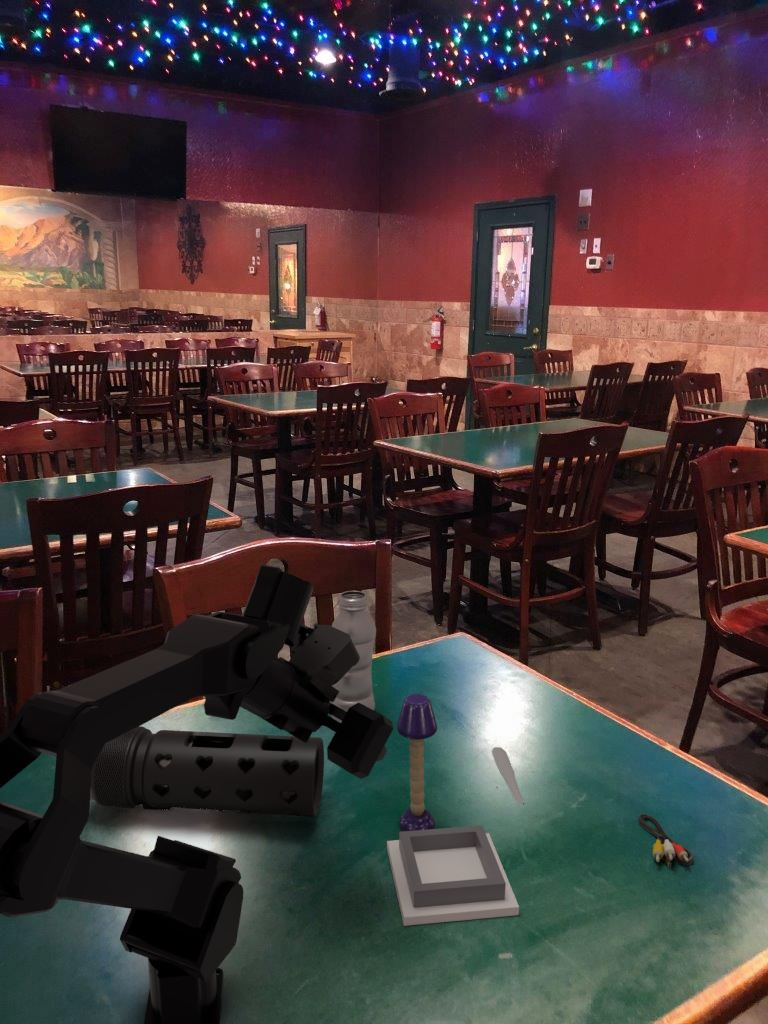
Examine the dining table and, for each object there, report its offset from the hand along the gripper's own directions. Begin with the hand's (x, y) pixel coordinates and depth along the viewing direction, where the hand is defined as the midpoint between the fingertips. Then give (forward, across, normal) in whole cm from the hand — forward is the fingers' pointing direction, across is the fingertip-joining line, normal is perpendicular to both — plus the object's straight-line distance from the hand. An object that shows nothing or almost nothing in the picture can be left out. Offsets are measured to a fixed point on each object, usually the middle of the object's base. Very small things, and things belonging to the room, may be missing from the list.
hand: (353, 737), depth 91 cm
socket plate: (+12, -12, +8) cm, 19 cm away
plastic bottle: (+25, +20, -2) cm, 32 cm away
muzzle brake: (+4, +18, +16) cm, 25 cm away
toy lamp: (+16, -2, +5) cm, 17 cm away
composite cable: (+29, -25, -7) cm, 39 cm away
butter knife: (+25, -10, -3) cm, 27 cm away
